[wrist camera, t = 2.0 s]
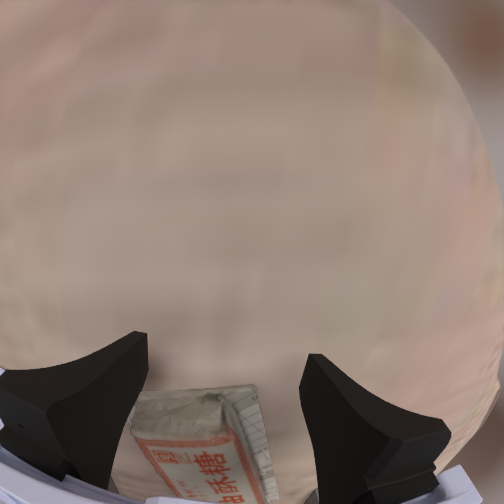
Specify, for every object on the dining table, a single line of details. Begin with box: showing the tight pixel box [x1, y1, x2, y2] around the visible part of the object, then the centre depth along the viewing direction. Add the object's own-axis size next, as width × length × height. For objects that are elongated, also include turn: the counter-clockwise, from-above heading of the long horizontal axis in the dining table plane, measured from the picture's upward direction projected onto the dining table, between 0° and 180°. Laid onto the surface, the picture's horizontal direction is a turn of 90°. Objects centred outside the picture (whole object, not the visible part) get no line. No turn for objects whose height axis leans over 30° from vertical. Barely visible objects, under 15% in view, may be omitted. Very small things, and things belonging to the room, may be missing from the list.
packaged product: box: [127, 384, 280, 504], centre depth 16 cm, size 18×5×10 cm
